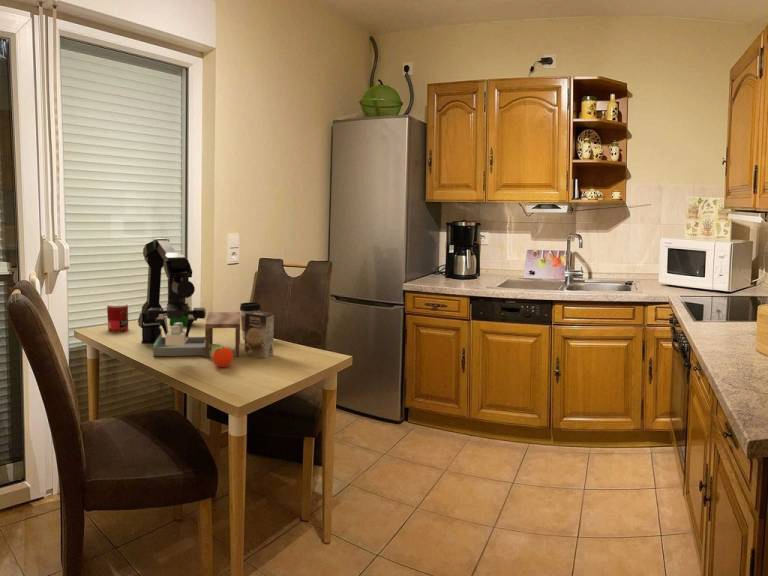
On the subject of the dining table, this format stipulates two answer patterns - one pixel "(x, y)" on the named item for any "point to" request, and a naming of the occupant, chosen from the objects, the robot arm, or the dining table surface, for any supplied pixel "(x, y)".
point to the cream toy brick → (176, 335)
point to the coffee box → (259, 334)
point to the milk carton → (184, 318)
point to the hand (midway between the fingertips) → (177, 337)
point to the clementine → (222, 356)
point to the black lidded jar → (245, 309)
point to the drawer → (179, 347)
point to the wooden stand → (222, 322)
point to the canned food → (117, 316)
